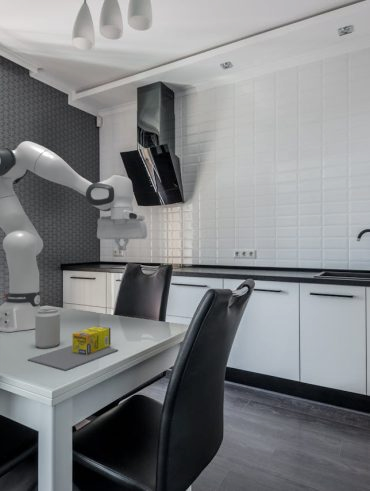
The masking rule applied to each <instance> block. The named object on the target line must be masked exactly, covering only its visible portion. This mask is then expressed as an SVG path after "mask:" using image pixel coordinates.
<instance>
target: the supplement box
mask: <svg viewBox="0 0 370 491" xmlns="http://www.w3.org/2000/svg"><path fill="white" fill-rule="evenodd" d="M111 340H112V339H111V327H104V326H98V325H96V326H92V327H90V328H86V329H83V330H79V331H77V332H73V333H72V345H73V347H72V348H73V353H80V354H84V355H88V354H91V353H93V352H96V351H98V350H101V349H103V348H106V347H108V348H109V347H110V346H111Z"/></svg>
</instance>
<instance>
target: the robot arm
mask: <svg viewBox="0 0 370 491" xmlns="http://www.w3.org/2000/svg"><path fill="white" fill-rule="evenodd" d="M17 145H18V146H17V147H16V148H15V149H14V150H13V149H11V148H9V147H0V229H2V231H3V232H4V234H6V236H5V237H4V238H3V239H2V247H3V248H2V249H3V250H4V251H3V252H5V257H6V262H7V268H8V274H9V275H8V276H9V278H8V279H9V280H8V283H9V284H8V285H9V286H8V287H9V288H8V289H9V290H8V291H9V292H8V293H7V294H2V295H3V297H2V298H3V299H4V298H5V300H4V302H3V303H2V304H1V305H0V332H4V333H5V332H6V333H14V332H18V331H27V330H35V315H36V314H37V313H38V310H40V309H41V305H40V304H41V291H40V270H39V268H38V267H39V266H38V262H37V256H38V255H39V254H40V253H41V252H42V250H43V248H44V241H43V239H42V237H41V236H40V234H39V233H38V231H37V229H36V228H35V226H34V224H33V223H32V222H31V220H30V219H29V217H28V216H27V213H26V212H25V210H24V208H23V206H22V204H21V202H20V200H19V198H18V196H17V194H16V192H15V190H14V188H13V185H16V184H18V183H19V182H20V181H21V180H23V179H25V177H27V176H28V174H29V173H30V172H32V173H34V174H35V175H37V176H39V177H40V178H42V179H45V180H47V181H49V182H53V183H56V184H58V185H62V186H65V187H67V188H70V189H73V190H74V191H76V192H77V193H79V194H81V195H83V196H85V198H86V201H87V202H88V203H89V204H90V205H91V206H93V207H95V208H97V209H98V210H100V211H101V212H109V211H110V216H109V215H107V216H100V217H98V219H97V228H96V229H97V230H96V231H97V232H96V238H97V239H98V240H114V242H115V245H116V246H117V251H127V246H128V244H129V243H130V240H143V239H144V240H145V239H146V238H147V237H148V229H147V224H146V222H145V215H144V214H140V213H138V212H137V211H134V207H133V199H134V187H133V182H132V180H131V179H130V178H129V177H128V176H127V175H123V174H112V175H111V176H110V177H109V178H107V179H105V180H102V181H99V182H94V183H93V182H91V181H90V180H88V179H86V178H84V177H83V176H81V175H80V174H78V172H76V171H75V170H74V169H73V168H72V167H71V166H70V164H68V163H67V162H66V161H65V160H64V159H63V158H62V157H61V156H59V155H58V154H57V153H55V152H53V151H52V150H50V149H49V148H46V147H45V146H44V145H41V144H39V143H35V142H34V141H30V140H29V141H28V140H26V141H25V140H24V141H23V142H20V143H19V144H17ZM121 240H123V245H121V244H120V242H121Z"/></svg>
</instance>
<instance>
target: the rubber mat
mask: <svg viewBox="0 0 370 491" xmlns="http://www.w3.org/2000/svg"><path fill="white" fill-rule="evenodd" d="M72 347H73V344H72V345H69V346H66V347H63V348H60V349H59V348H58V349H56V350H53V351H50V352H46V353H43V354H40V355H36V356H34V357H30V358H28V359H27V361H29V362H31V363H35V364H39V365H42V366H47V367H49V368H53V369H57V370H60V371H65V372H67V371H70V370H72V369H75V368H77V367H79V366H82V365H86V364H87V363H91V362H93V361H95V360H97V359H101V358H103V357H106V356H109V355H111V354H114V353H117V352H118V351H119V349H117V348H112V347H109V346H108V347H106V348H103V349H101V350H98V351H96V352H93V353H91V354H88V355H84V354H80V353H73V348H72Z"/></svg>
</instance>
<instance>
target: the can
mask: <svg viewBox="0 0 370 491" xmlns="http://www.w3.org/2000/svg"><path fill="white" fill-rule="evenodd" d="M34 330H35V332H34V333H35V342H34V343H35V344H34V345H35V346H36V347H38V349H51V348H52V349H53V348H54V347H57V346H58V345H59V344H60V342H61V313H60V311H59V309H58V308H57V307H48V308H47V307H46V308H45V307H44V308H40V310H38V313H37V314H36V315H35V328H34Z"/></svg>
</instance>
